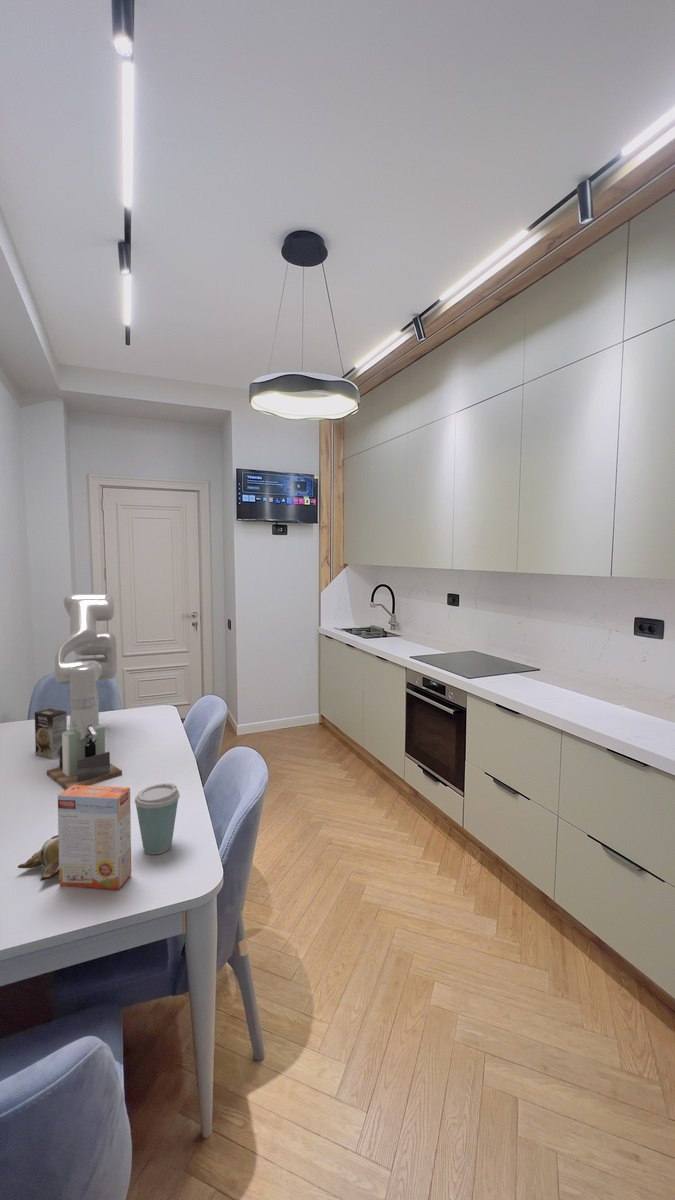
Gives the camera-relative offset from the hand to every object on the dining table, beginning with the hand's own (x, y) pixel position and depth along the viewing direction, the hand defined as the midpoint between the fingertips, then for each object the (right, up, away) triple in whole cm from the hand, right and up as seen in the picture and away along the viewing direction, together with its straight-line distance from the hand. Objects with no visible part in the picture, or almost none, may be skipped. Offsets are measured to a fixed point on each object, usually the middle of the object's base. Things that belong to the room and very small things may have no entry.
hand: (84, 752), depth 166 cm
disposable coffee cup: (+39, -12, -41) cm, 58 cm away
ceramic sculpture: (+20, -12, -49) cm, 54 cm away
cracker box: (+30, -12, -54) cm, 63 cm away
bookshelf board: (0, -8, +1) cm, 8 cm away
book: (0, -6, +1) cm, 6 cm away
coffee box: (-21, -6, +18) cm, 28 cm away
